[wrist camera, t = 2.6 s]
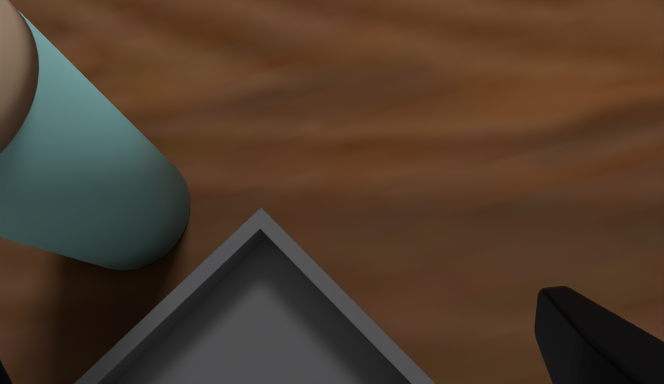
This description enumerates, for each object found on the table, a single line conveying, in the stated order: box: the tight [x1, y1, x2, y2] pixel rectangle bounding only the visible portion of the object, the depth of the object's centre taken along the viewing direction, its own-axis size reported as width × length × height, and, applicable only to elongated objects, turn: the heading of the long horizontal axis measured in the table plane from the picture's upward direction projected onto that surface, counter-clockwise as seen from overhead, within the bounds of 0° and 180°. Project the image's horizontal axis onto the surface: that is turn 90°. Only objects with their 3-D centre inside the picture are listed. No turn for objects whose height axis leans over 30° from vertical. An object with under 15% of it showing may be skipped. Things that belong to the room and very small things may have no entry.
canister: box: [0, 0, 190, 270], centre depth 18 cm, size 6×6×13 cm
